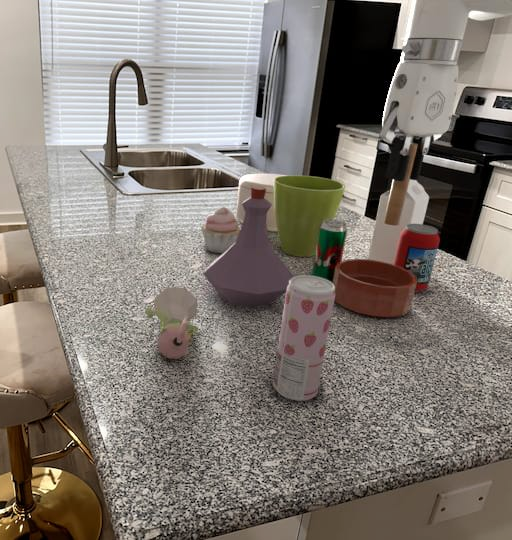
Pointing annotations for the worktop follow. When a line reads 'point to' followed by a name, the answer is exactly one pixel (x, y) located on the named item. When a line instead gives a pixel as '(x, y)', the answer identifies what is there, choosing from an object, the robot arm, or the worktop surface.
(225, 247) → the cupcake
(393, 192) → the stick
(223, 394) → the worktop surface
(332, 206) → the flower pot
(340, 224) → the soda can
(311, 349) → the beverage can
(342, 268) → the bowl
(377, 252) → the milk carton
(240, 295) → the flask
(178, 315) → the figurine
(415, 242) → the beverage can
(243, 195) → the container
